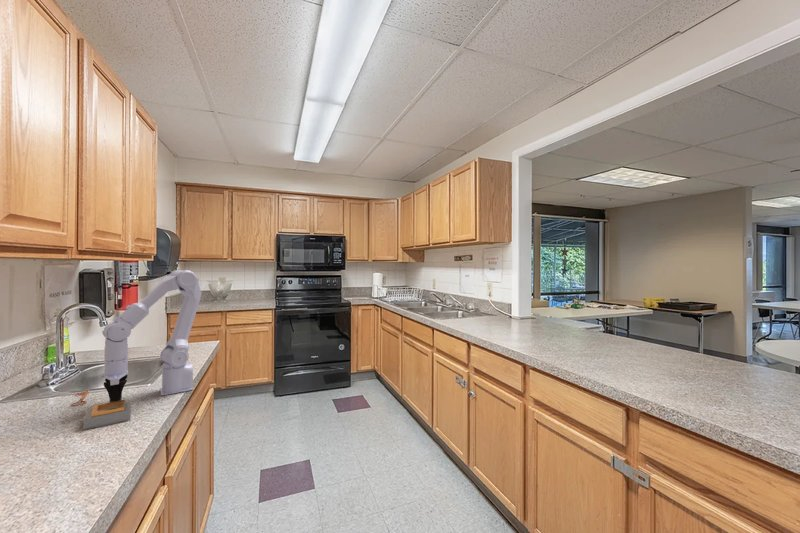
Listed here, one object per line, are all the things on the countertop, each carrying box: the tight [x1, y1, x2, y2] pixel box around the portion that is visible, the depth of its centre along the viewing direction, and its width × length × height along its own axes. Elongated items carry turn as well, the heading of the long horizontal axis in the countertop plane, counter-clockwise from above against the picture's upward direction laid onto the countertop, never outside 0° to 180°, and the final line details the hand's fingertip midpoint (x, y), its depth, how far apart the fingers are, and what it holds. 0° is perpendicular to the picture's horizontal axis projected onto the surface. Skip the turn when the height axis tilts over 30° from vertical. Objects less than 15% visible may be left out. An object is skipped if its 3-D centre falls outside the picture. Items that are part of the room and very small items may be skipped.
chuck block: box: [83, 399, 132, 431], centre depth 97 cm, size 10×8×4 cm
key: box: [69, 389, 90, 407], centre depth 112 cm, size 6×1×15 cm
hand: (115, 400), depth 107 cm, fingers closed on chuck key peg, 3 cm apart
